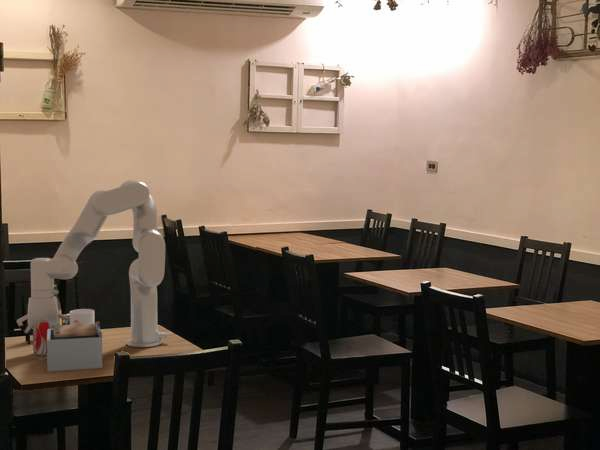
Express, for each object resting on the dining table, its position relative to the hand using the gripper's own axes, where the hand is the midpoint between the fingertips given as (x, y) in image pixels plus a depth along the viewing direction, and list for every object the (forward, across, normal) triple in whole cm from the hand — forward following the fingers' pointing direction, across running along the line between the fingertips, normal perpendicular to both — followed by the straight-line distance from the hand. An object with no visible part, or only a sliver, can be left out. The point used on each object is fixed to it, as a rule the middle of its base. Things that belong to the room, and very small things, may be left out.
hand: (43, 342), depth 275 cm
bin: (+4, -10, +16) cm, 19 cm away
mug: (+4, -12, -18) cm, 22 cm away
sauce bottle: (+4, -3, -26) cm, 26 cm away
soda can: (+4, 0, 0) cm, 4 cm away
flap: (-7, -10, +16) cm, 20 cm away
